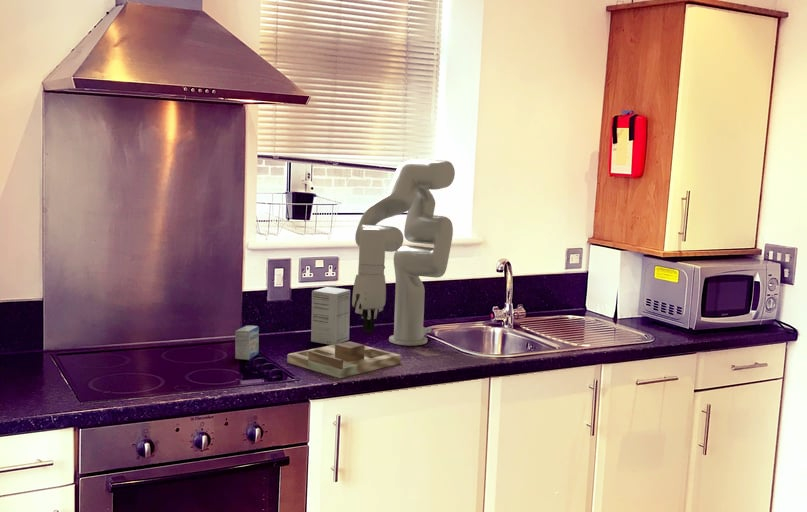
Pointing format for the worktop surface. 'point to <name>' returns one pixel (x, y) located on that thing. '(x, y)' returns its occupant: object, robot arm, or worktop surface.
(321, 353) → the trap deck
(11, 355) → the worktop surface
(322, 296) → the supplement box
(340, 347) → the walnut block
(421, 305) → the robot arm
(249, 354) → the medicine box
